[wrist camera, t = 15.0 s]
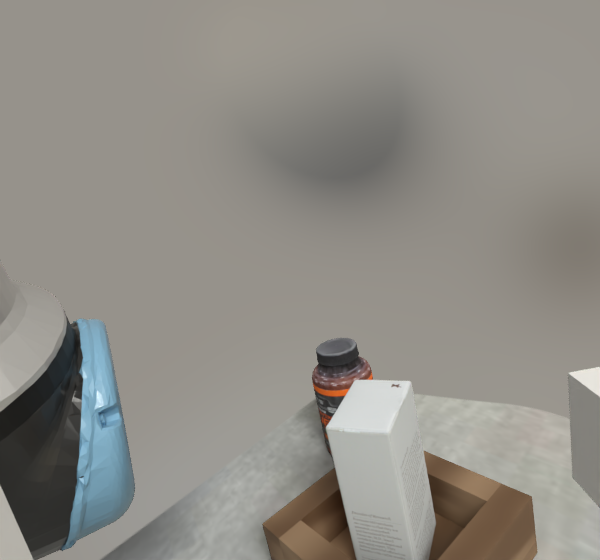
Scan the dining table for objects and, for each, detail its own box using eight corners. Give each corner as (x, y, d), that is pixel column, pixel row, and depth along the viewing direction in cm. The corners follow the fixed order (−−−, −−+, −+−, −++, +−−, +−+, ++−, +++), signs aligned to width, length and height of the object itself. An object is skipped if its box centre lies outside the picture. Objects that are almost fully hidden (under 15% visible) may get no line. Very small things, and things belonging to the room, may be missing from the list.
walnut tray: (276, 574, 32) (262, 524, 31) (388, 475, 40) (380, 432, 39) (424, 723, 22) (411, 656, 21) (537, 552, 30) (531, 496, 29)
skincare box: (381, 514, 34) (354, 377, 31) (437, 524, 32) (413, 378, 29) (357, 583, 29) (322, 426, 26) (422, 600, 27) (391, 432, 24)
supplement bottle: (316, 448, 46) (293, 350, 43) (357, 422, 49) (338, 329, 46) (353, 473, 41) (331, 364, 38) (397, 442, 44) (378, 339, 41)
